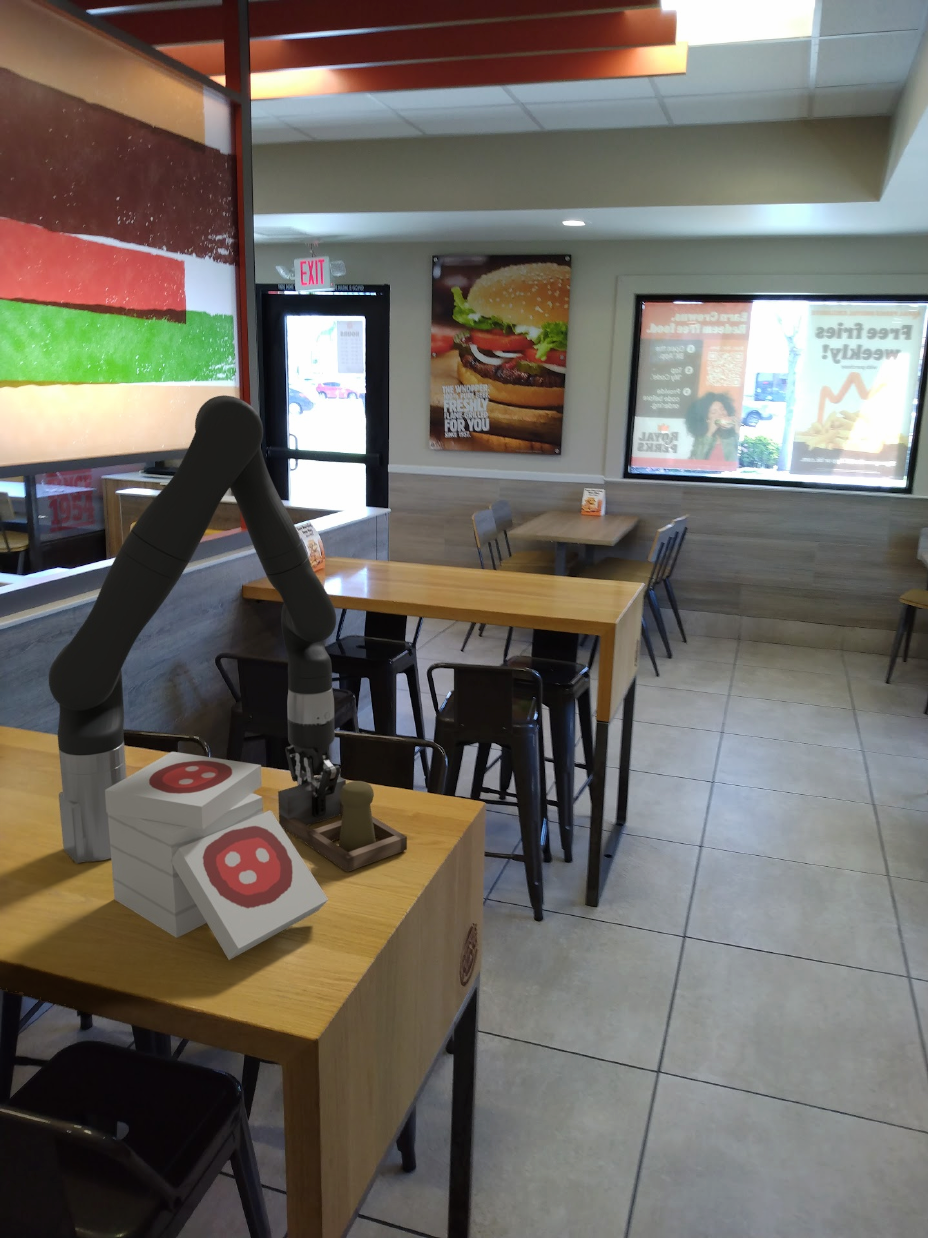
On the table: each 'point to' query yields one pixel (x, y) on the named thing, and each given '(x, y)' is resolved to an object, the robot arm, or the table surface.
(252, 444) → the robot arm
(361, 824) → the cork
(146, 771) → the pizza boxes
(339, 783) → the divided wooden tray frame
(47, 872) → the table surface
